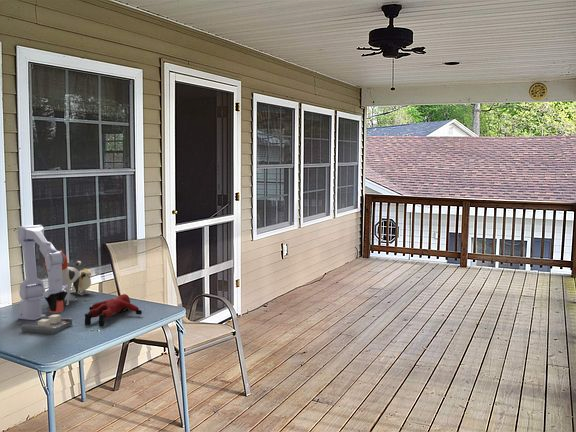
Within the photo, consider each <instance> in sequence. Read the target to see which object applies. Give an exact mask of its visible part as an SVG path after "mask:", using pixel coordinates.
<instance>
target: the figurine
mask: <svg viewBox="0 0 576 432" xmlns="http://www.w3.org/2000/svg"><path fill="white" fill-rule="evenodd" d="M59 251H61V252H62V253H63V255H64V263H63V264H62V283H63V286H68V290H65V292H67V295H66V298H67V301H66V304H65V306H69V305H70V302H69V300H70V295H71V290H72V288H71V287H72V285H73V286H74V287H75V289H76V290H75V297H74V299H73V301H78V295H79V294H78V285H79V279H80V275H81V273H80V271H81V270H80V268H79V266H80V265H81V264H82V261H81V260H76V262H74V263H72V262H68V257H67V256H66V254H64V250H63V249H62V248H60V250H59ZM42 260H43V261H42V263H43V264H42V265H43V266H44V270H45V271H46V272H47V274H48V270H47V268H46V263H45V257H44V256H43V259H42Z"/></svg>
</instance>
